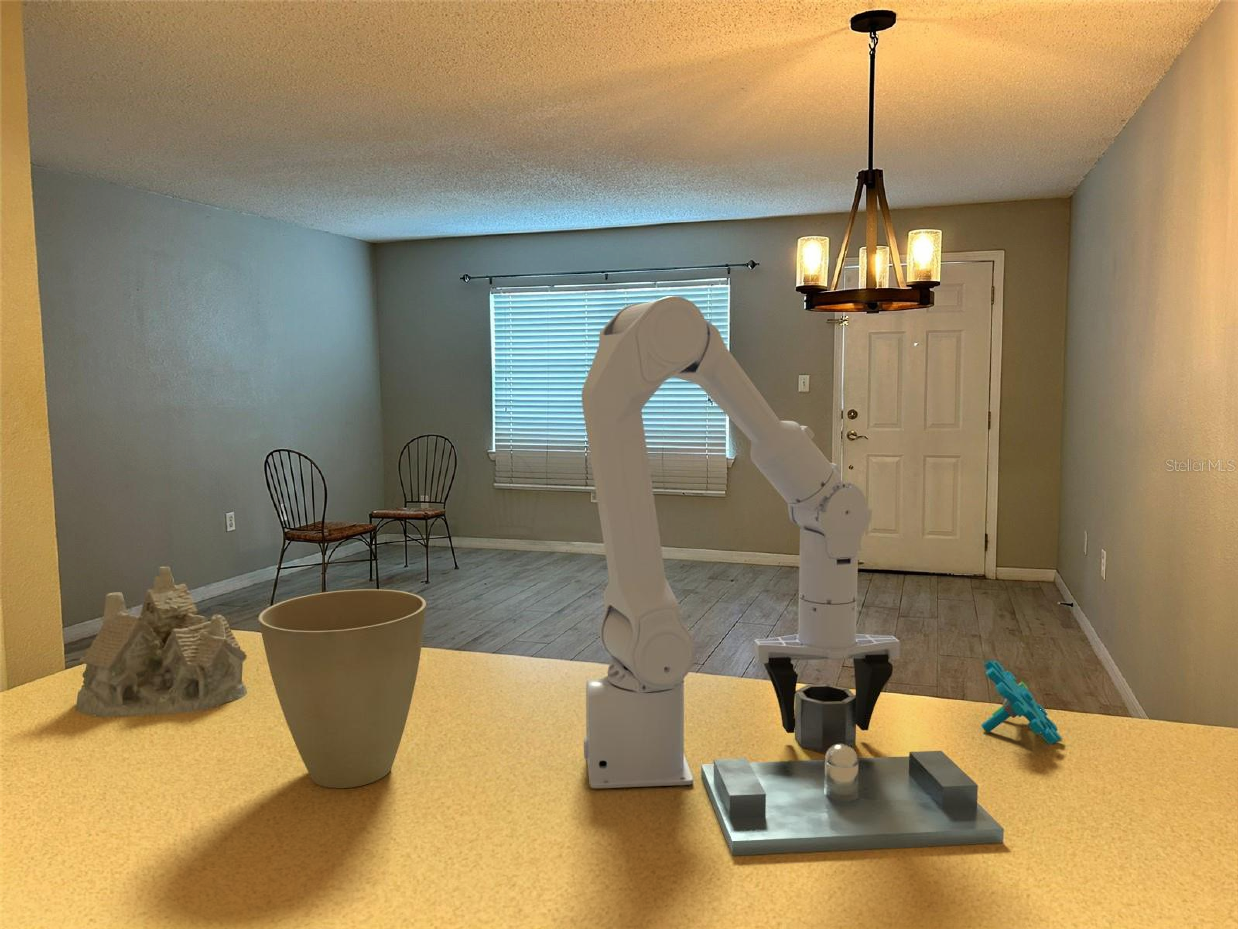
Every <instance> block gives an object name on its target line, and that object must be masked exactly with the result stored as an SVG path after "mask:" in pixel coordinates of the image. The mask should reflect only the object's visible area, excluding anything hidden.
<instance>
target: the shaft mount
mask: <svg viewBox="0 0 1238 929" xmlns="http://www.w3.org/2000/svg"><path fill="white" fill-rule="evenodd" d="M908 754H909V756H908V755H907V756H906V755H905V756H886V757H885V756H884V757H880V756H879V757H859V756H858V754H857V752H856V751H855V749H854V748H853V747H852V748H851V747H850V746H848V745H846V744H836V745H833V746H832V747H830V748H829V749H828V751H827V753H825V755H824V759H807V760H806V759H805V760H804V759H803V760H784V761H783V760H780V761H778V760H777V761H756V762H754V761H753V762H752V761H751V762H750V761H749V759H748V758H747V757H742V758H739V757H738V758H737V757H736V758H715V759H713V763H706V764H705V763H702V764H700V765H701V766H700V767H701V770H700V771H701V772H700V774H701V776H700V777H701V779H702V780H701V781H702V782H703V786H704V787H705V790H706V793H707V794H708V798H709V801H710V803H711V804H712V807H713V808H712V809H713V811H714V812H715V816H716V818H717V820H718V824H719V826H720V828H721V831H722V833H723V836H724V839H725V840H726V841H725V842H726V844H727V846H728V849H729V851H730V854H731V855H732V856H753V855H775V854H777V855H778V854H795V853H799V854H800V853H815V852H817V853H819V852H821V853H822V852H835V851H836V852H839V851H840V852H841V851H861V850H862V851H863V850H879V849H882V850H883V849H885V850H886V849H900V848H904V849H905V848H923V847H946V846H963V845H964V846H966V845H988V844H991V845H992V844H1003V843H1004V832H1005V830H1004V827H1003V826H1002V825H1001V824H1000V823H999V822H998V821H997V820H996V819H995V818H994V817H993V816H992V815H991V814H989V812H988V811H987V810H986V809H985V808H983V806H981V804H979V802H978V792H979V785H978V783H976V782H975V781H974V780H973V779H972V778H971V777H970V776H969V775H968V774H966V772H965V771H964V770H963V769H962V768H961V767H960V766H958V765H957V764H956V763H955V762H954V761H953V760H952V759H951V758H950V757H949V756H948V755H947V754H945V752H944V751H942V750H925V751H909V753H908ZM858 757H859V758H858Z"/></svg>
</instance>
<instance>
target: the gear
mask: <svg viewBox="0 0 1238 929" xmlns="http://www.w3.org/2000/svg"><path fill="white" fill-rule="evenodd" d="M983 666H984V668H985V669H986V670H987V671H986V672H985V674H986V676H987V677H988V679H990V681H992V682H993V683H994V684H995V686H994V688H995V689H996V691H997V693H998V694H999V695H1000V696H1001V697H1003V698H1004V701H1003V703H1002V705H1001V706H1000V707H999V708H997V709H996V710H995V711H993V712H992V713H991V715H992V716H991V717H989V718H988V719H987V720H986V721H984V722H983V723H981V725H980V726H981V728H982V729H983V730H984V732H986V733H987V734H989V733H990V732H992V731H993V730H994V729H996V728H997V727H998V726H1000V725H1001V724H1003V723H1005V721H1006V720H1007V719H1009V718H1010V717H1011V718H1013V719H1014V718H1016V717H1019V718H1021V717H1024V718H1026V720H1027V722H1028V723H1027V725H1028V727H1029V729H1030V730H1031V731H1032V732H1034V733H1035V734H1036V735H1037V736H1038V735H1041V737H1042V738H1043V740H1044V741H1045V742H1046V743H1048V744H1049V745H1053V744H1056V743H1057V742H1059V741H1060V740H1062V736H1061V735H1060V734H1059V733H1058V731H1059V729H1058V726H1057V725H1056V724H1055V722H1053V721H1052V720H1051V719H1050V718H1049V717H1048V713H1047V711H1046V709H1045V708H1044V707H1043V706H1042V705H1041V704H1039V703H1037V702H1036V701H1035V698H1034V697H1033V694H1032V693H1031V692H1030V691H1029V689H1030V688H1029V687H1028V685H1026V684H1025V683H1024V681H1020V682H1019V683H1017V682H1016V681H1017V680H1018V679H1017V678H1016V677H1015V675H1014V674H1013V673H1012V672H1011V671H1010V670H1009V669H1008V670H1005V668H1004V667H1003V666H1002V665H1001V664H1000V662H999V661H997V660H991V659H989V660H987V661H986V662H985V663H984V664H983ZM1004 670H1005V671H1004ZM1040 709H1041V710H1040Z"/></svg>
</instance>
